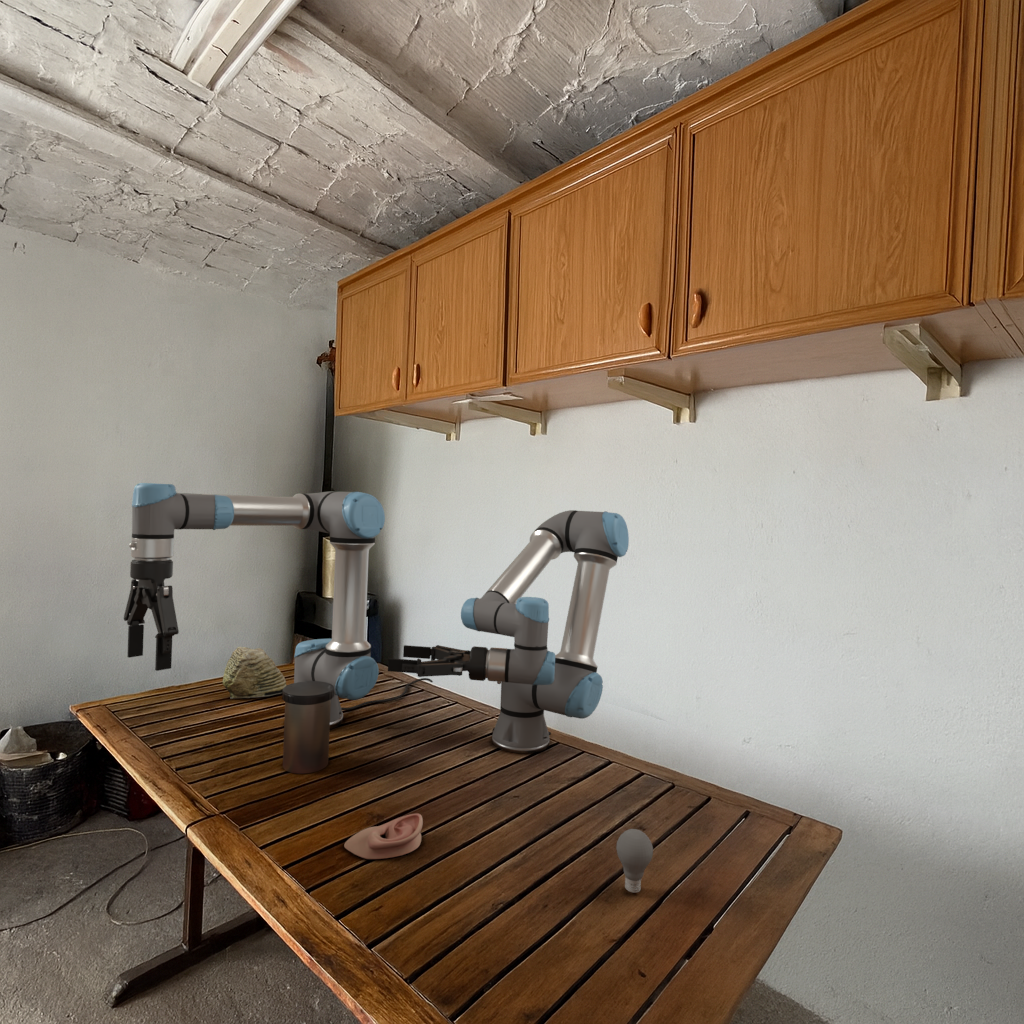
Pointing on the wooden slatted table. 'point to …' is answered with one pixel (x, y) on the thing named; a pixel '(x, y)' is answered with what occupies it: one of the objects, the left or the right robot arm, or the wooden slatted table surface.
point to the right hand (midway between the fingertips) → (396, 657)
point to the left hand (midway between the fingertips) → (148, 662)
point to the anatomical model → (387, 838)
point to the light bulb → (634, 857)
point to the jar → (306, 737)
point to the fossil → (252, 674)
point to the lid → (308, 692)
